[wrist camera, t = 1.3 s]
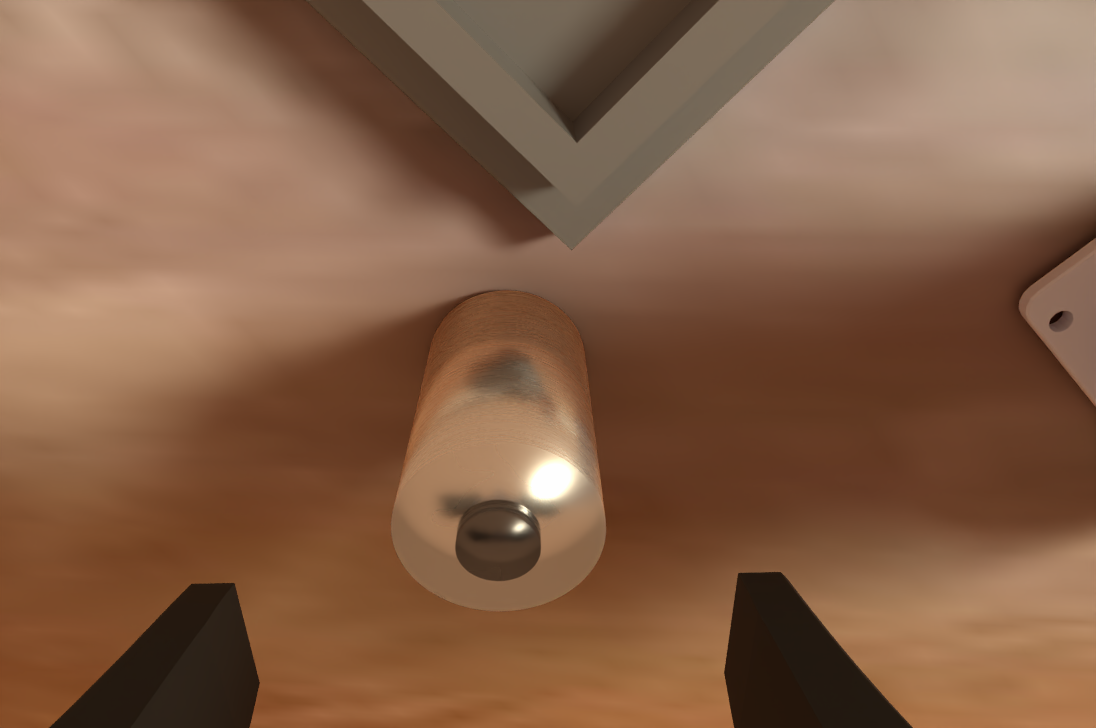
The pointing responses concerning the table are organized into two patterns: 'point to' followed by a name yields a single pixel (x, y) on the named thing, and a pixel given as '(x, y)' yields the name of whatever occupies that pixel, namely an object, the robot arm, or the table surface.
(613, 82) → the cradle
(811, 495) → the table surface
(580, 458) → the cell
